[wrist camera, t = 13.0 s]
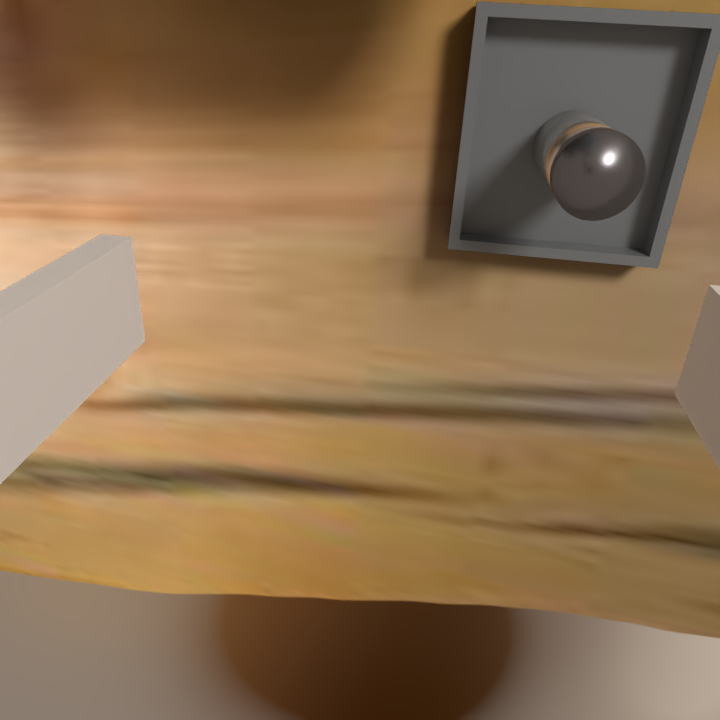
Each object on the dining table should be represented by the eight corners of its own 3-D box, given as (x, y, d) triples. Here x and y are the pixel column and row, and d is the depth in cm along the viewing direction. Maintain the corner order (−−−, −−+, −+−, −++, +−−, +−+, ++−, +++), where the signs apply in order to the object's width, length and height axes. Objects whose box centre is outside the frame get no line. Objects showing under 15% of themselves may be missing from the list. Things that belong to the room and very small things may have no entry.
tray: (476, 3, 43) (477, 1, 41) (714, 15, 42) (729, 14, 39) (448, 239, 51) (447, 249, 49) (648, 257, 49) (657, 268, 47)
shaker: (540, 105, 45) (563, 126, 36) (615, 112, 45) (657, 134, 36) (525, 179, 47) (544, 215, 38) (596, 186, 47) (631, 225, 38)
